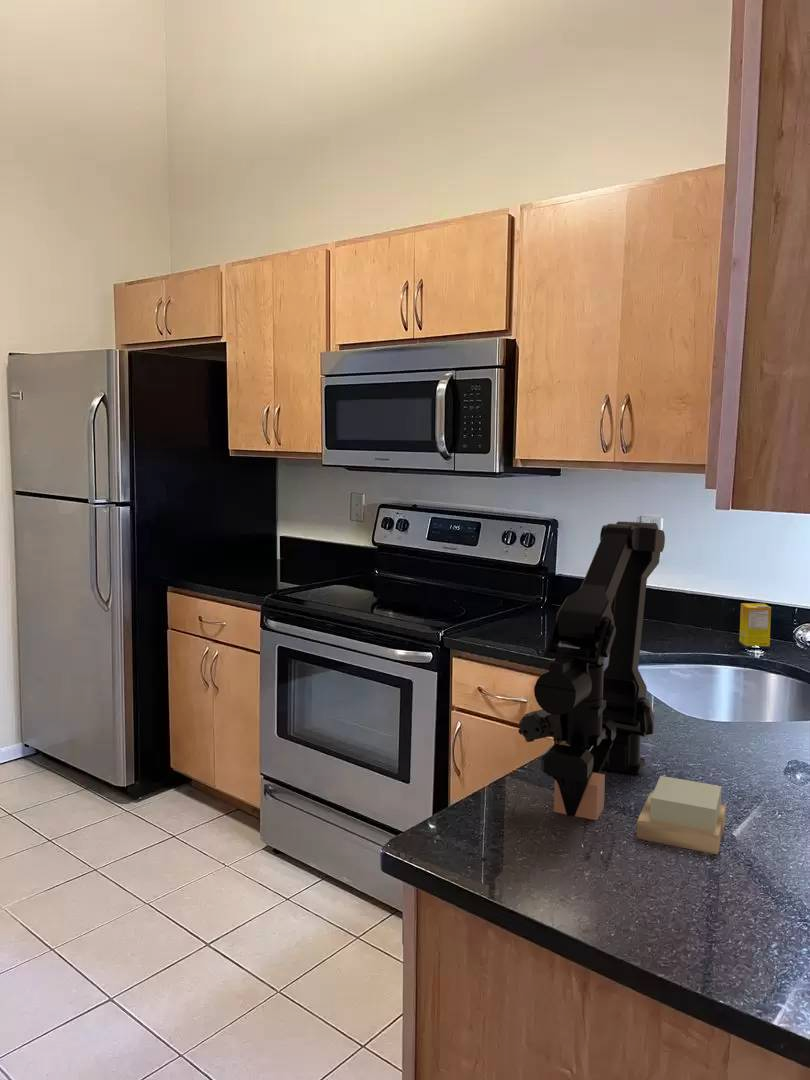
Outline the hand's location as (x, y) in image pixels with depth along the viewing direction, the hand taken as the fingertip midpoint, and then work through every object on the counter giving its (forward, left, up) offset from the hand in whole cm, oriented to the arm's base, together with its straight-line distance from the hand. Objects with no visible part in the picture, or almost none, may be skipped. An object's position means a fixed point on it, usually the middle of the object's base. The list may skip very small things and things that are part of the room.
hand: (579, 802), depth 116 cm
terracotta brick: (0, 0, -1) cm, 1 cm away
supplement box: (-115, +16, -1) cm, 116 cm away
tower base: (0, +14, -2) cm, 14 cm away
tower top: (0, +14, +1) cm, 14 cm away
